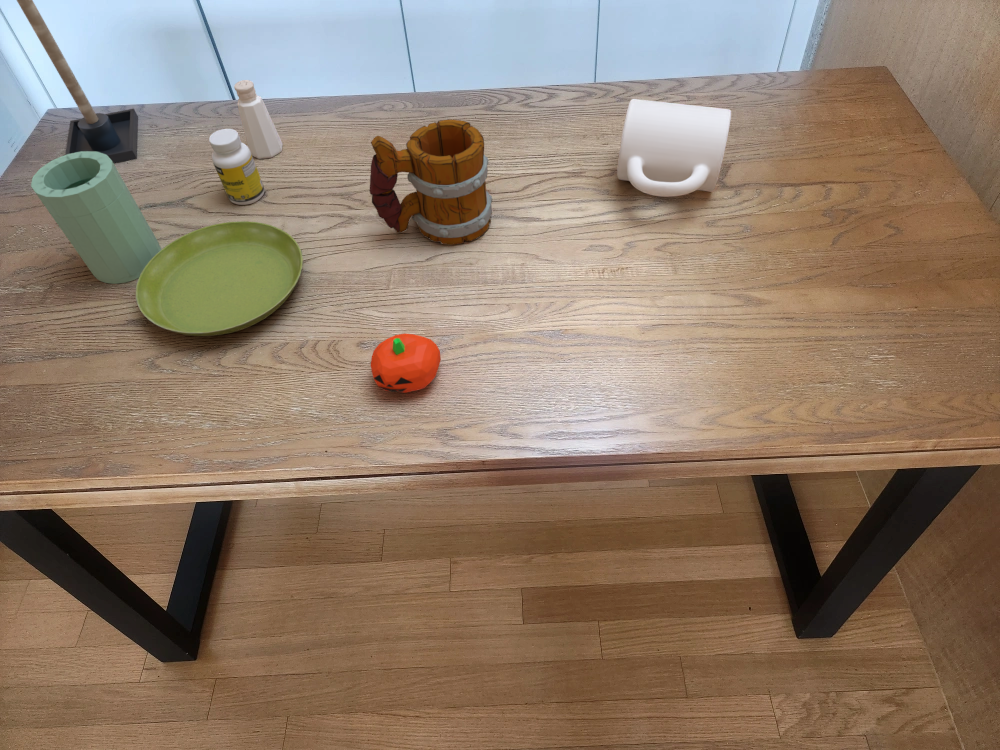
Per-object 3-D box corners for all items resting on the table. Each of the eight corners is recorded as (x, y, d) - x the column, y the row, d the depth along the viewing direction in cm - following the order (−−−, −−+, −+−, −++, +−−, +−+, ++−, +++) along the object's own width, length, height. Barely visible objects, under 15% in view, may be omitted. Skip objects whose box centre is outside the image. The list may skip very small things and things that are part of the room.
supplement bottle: (221, 201, 98) (195, 143, 91) (243, 181, 101) (219, 122, 94) (251, 209, 97) (227, 150, 89) (272, 188, 100) (251, 129, 92)
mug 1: (505, 235, 91) (501, 137, 79) (388, 263, 89) (365, 166, 77) (482, 190, 98) (475, 93, 86) (372, 215, 95) (350, 119, 83)
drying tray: (138, 161, 106) (132, 150, 104) (70, 175, 104) (63, 164, 102) (139, 119, 114) (133, 108, 112) (76, 131, 112) (70, 120, 110)
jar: (90, 290, 88) (27, 204, 77) (94, 247, 93) (35, 160, 82) (162, 274, 89) (110, 186, 78) (161, 232, 95) (113, 144, 84)
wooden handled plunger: (90, 153, 107) (-5, -6, 88) (91, 138, 109) (-1, -19, 91) (119, 147, 107) (32, -12, 89) (120, 133, 110) (35, -25, 91)
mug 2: (625, 151, 102) (634, 83, 94) (716, 163, 100) (734, 93, 91) (607, 218, 93) (614, 149, 84) (707, 232, 90) (725, 163, 81)
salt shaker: (255, 163, 104) (230, 97, 95) (245, 147, 107) (220, 81, 98) (288, 152, 106) (266, 86, 97) (277, 136, 109) (255, 70, 100)
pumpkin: (451, 388, 75) (445, 352, 70) (383, 410, 74) (372, 374, 69) (433, 344, 79) (426, 306, 74) (368, 364, 78) (357, 327, 73)
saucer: (258, 365, 78) (249, 348, 76) (113, 331, 83) (100, 314, 80) (335, 252, 90) (329, 233, 88) (204, 227, 95) (195, 209, 92)
